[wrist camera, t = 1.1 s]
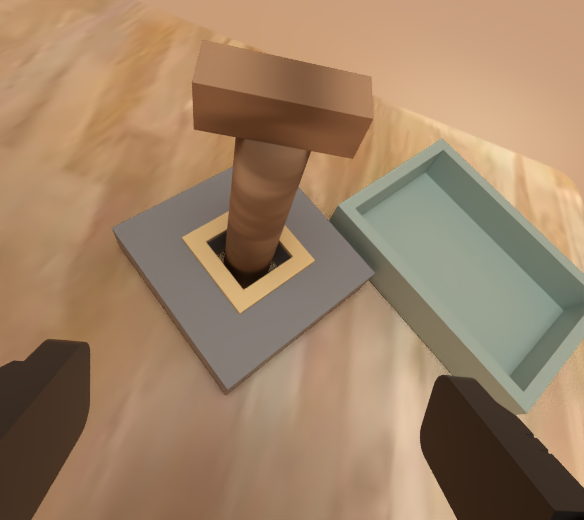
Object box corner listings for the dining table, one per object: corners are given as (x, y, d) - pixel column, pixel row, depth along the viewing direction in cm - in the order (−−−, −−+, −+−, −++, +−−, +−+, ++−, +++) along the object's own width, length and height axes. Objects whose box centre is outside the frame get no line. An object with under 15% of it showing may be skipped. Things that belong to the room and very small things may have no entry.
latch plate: (119, 246, 30) (110, 224, 27) (261, 171, 36) (266, 146, 33) (225, 394, 27) (227, 389, 24) (361, 287, 33) (377, 271, 30)
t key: (198, 282, 30) (189, 93, 14) (205, 242, 32) (204, 30, 15) (286, 293, 31) (374, 130, 15) (289, 254, 33) (370, 67, 16)
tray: (324, 229, 35) (338, 205, 31) (421, 165, 40) (442, 138, 37) (489, 417, 30) (527, 413, 27) (571, 314, 36) (611, 300, 32)
